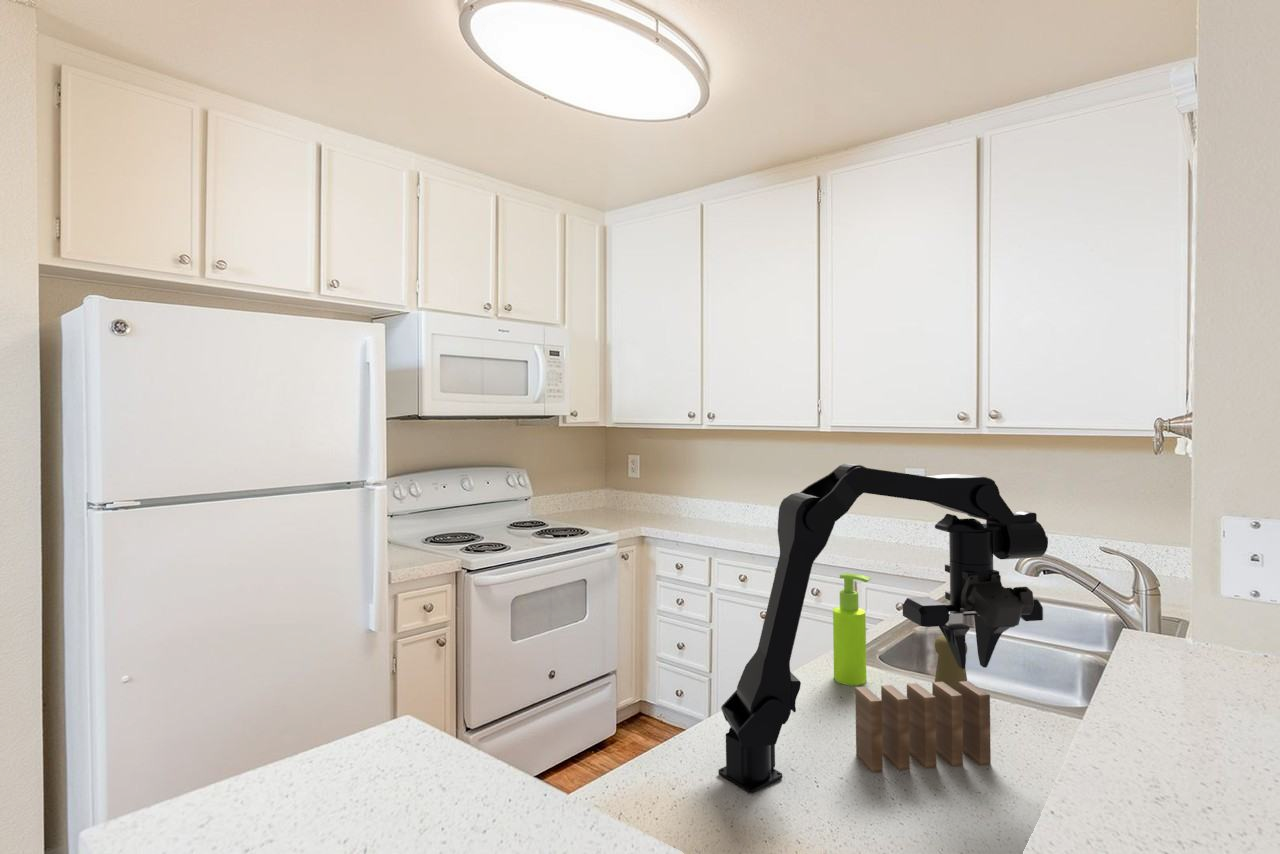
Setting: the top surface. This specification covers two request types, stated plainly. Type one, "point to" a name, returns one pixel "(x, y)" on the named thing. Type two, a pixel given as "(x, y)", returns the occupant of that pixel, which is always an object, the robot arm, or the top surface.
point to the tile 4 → (948, 723)
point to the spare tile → (976, 722)
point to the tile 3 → (922, 725)
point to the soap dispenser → (849, 635)
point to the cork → (948, 665)
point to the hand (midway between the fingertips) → (972, 667)
